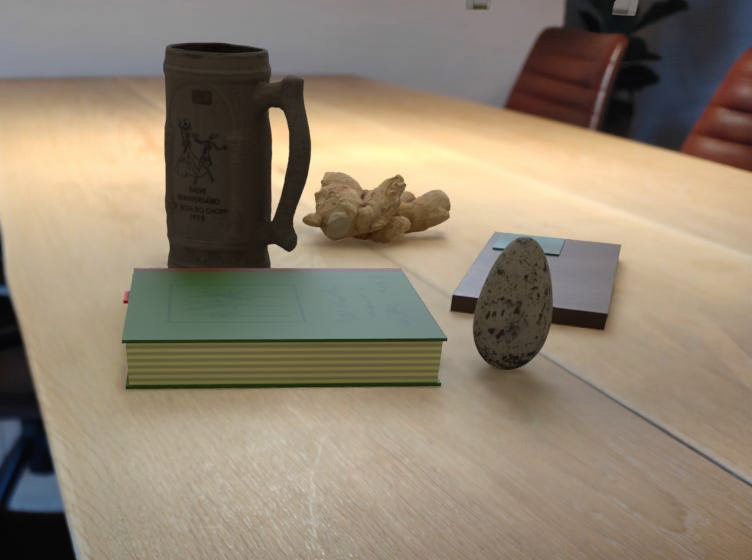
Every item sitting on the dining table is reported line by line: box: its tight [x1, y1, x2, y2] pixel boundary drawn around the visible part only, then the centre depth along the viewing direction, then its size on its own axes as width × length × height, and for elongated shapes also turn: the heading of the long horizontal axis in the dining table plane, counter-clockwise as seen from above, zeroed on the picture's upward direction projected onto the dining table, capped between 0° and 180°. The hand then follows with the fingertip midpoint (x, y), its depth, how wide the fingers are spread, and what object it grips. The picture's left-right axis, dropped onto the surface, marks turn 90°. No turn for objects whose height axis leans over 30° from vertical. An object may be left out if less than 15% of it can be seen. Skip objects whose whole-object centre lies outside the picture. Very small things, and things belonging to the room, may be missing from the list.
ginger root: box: [301, 171, 452, 244], centre depth 105 cm, size 16×16×8 cm
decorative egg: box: [472, 237, 553, 371], centre depth 71 cm, size 6×6×10 cm
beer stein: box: [162, 41, 312, 268], centre depth 88 cm, size 15×11×20 cm
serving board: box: [449, 231, 622, 331], centre depth 93 cm, size 26×14×2 cm, turn 160°
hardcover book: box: [121, 267, 448, 390], centre depth 76 cm, size 25×19×4 cm
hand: (549, 12), depth 60 cm, fingers open, 8 cm apart
